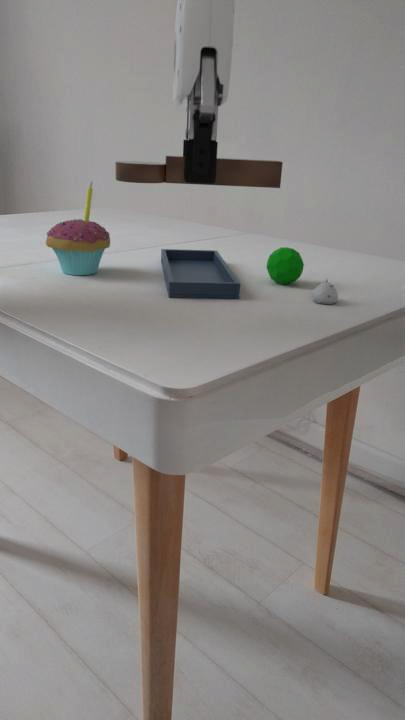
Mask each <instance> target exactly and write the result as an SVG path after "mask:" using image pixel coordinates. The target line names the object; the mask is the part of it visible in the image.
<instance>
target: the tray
mask: <svg viewBox="0 0 405 720" xmlns="http://www.w3.org/2000/svg"><path fill="white" fill-rule="evenodd" d="M160 262H161V267H162V271H163V277H164V281H165V282H164V283H165V286H166V290H167V291H166V292H167V295H168V298H172V299H173V298H176V299H177V298H178V299H179V298H180V299H183V298H184V299H232V300H233V299H240V291H241V283H240V281H239V279H238V278H237V276H235V273H233V271H232V270H231V269H230V267H229V266H228V264H227V263H226V261H225V260H224V258H223V257H222V256H221V254H220V252H219V251H218V250H213V249H208V250H206V249H177V248H176V249H175V248H174V249H173V248H165V249H164V248H161V249H160Z"/></svg>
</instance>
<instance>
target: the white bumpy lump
mask: <svg viewBox="0 0 405 720" xmlns="http://www.w3.org/2000/svg"><path fill="white" fill-rule="evenodd" d="M337 291H338V290H337V289H336V288H335V284H332V283H330V282H329V281H328V278H326V281H325V282H321V283H319V284H318V285H317V286H316V287H315V288H314V290H312V292H311V297H312V299H313V301H314V302H315V303H317V302H319V303H318V304H320V303H323V304H322V305H334V304H336V303H337V302H338V299H339V294H338V292H337ZM333 303H334V304H333Z"/></svg>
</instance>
